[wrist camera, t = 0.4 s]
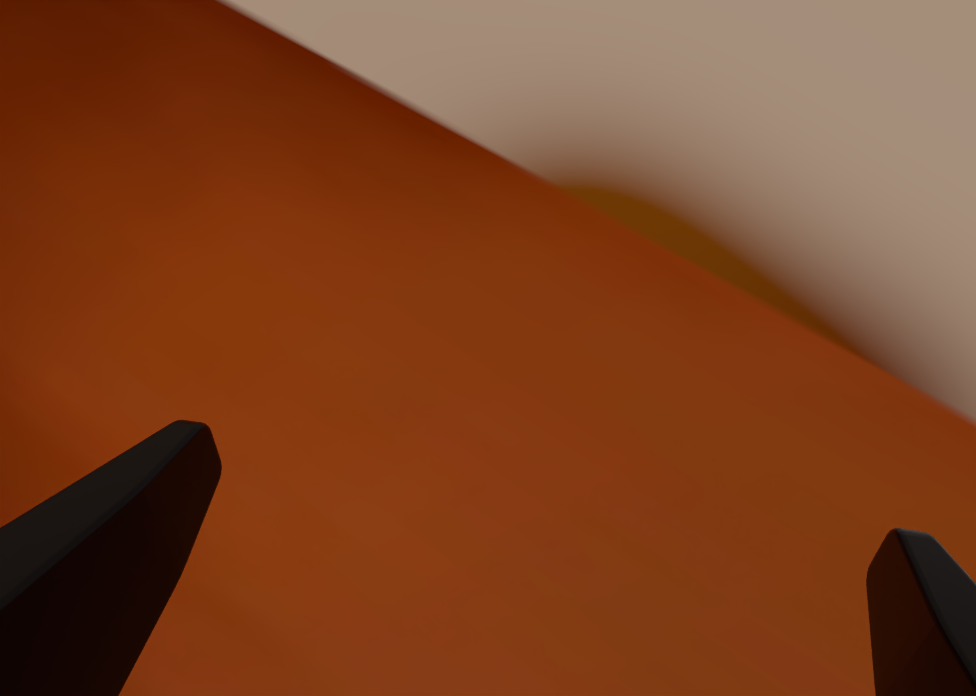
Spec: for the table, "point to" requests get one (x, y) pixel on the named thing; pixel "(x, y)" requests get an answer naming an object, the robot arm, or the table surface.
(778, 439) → the table surface
